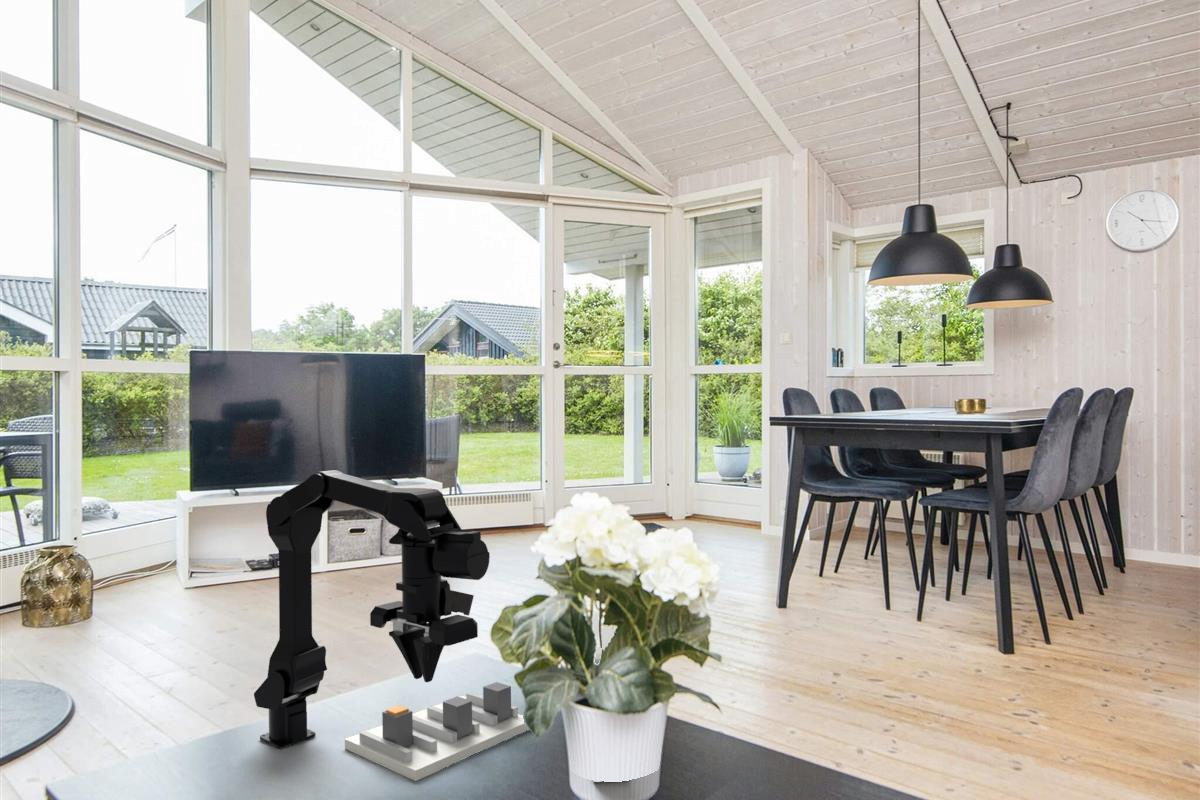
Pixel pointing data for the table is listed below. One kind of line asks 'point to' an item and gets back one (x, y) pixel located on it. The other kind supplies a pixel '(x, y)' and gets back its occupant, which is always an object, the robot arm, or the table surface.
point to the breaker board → (436, 740)
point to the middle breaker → (458, 716)
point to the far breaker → (497, 700)
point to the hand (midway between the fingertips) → (423, 679)
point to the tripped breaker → (398, 725)
